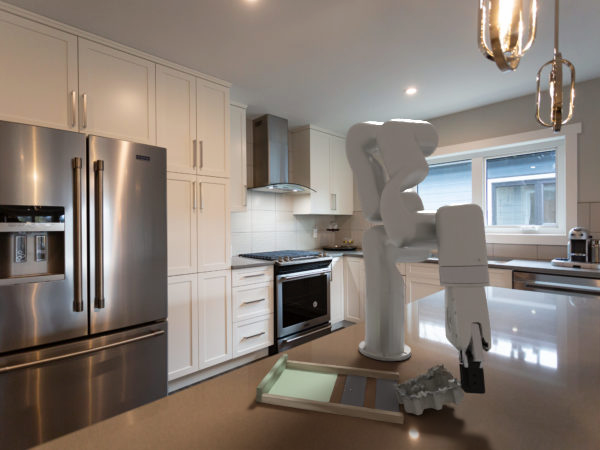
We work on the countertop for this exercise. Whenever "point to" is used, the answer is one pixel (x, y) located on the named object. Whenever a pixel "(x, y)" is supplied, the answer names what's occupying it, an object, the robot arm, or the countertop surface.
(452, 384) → the egg carton
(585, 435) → the countertop surface
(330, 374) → the pad
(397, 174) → the robot arm
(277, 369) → the channel
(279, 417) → the countertop surface
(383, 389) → the strips
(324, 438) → the countertop surface
